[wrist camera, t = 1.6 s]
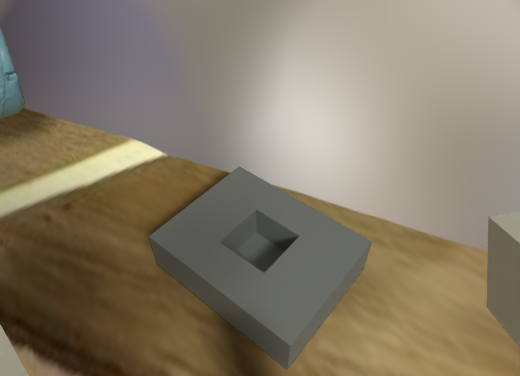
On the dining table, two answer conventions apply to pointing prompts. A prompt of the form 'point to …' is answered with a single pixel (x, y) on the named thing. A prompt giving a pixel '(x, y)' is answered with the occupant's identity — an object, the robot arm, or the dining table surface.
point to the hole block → (261, 261)
